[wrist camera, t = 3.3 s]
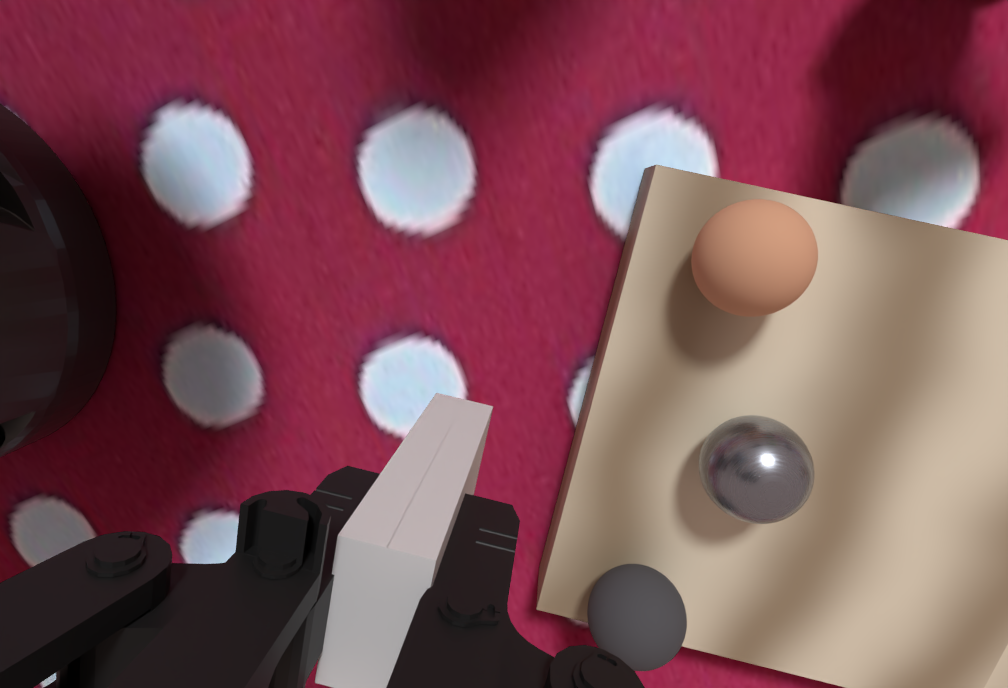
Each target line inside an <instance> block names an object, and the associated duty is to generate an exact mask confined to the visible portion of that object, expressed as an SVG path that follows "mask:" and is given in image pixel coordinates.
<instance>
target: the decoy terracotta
mask: <svg viewBox="0 0 1008 688" xmlns="http://www.w3.org/2000/svg"><path fill="white" fill-rule="evenodd" d="M817 262H818V247H817V242H816V238H815V235H814V233H813V231H812V229H811V227H810V226H809V224H808V222H807V221H806V220H805V219H804V218H803V217H802V216H801V215H800V214H799V213H798V212H796V211H795V210H793V209H792V208H790V207H789V206H787V205H784V204H782V203H779V202H776V201H772V200H765V199H752V200H745V201H741V202H737V203H734V204H732V205H729V206H727V207H725V208H723V209H722V210H720V211H719V212H717V213H716V214H715V215H714V216H713V217H711V218H710V219H709V220H708V221H707V223H706V224H705V225H704V226H703V228H702V229H701V230H700V232H699V234H698V236H697V238H696V240H695V243H694V246H693V250H692V258H691V263H692V272H693V276H694V279H695V282H696V284H697V286H698V288H699V290H700V291H701V293H702V294H703V295H704V296H705V297H706V299H707V300H708V301H709V302H711V303H712V304H713V305H714V306H716V307H718V308H719V309H721V310H723V311H726V312H728V313H731V314H734V315H738V316H746V317H756V316H764V315H769V314H772V313H775V312H777V311H779V310H782V309H784V308H786V307H787V306H789V305H790V304H792V303H793V302H794V301H796V300H797V299H798V298H799V297H800V296H801V295H802V294H803V293H804V292H805V290H806V289H807V288H808V286H809V284H810V283H811V281H812V279H813V277H814V274H815V271H816V268H817Z"/></svg>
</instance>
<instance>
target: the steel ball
mask: <svg viewBox="0 0 1008 688" xmlns="http://www.w3.org/2000/svg"><path fill="white" fill-rule="evenodd" d="M699 475H700V479H701V482H702V485H703V487H704V489H705V491H706V493H707V495H708V496H709V498H710V499H711V500H712V501H713V503H714V504H715V505H716V506H717V507H718V508H720V509H721V510H722V511H723V512H725V513H726V514H728V515H730V516H731V517H733V518H736V519H738V520H741V521H744V522H748V523H753V524H769V523H775V522H779V521H782V520H784V519H787V518H788V517H790V516H792V515H793V514H795V513H796V512H797V511H798V510H799V509H801V507H802V506H803V505H804V504H805V503H806V501H807V500H808V498H809V496H810V494H811V492H812V488H813V484H814V478H815V471H814V464H813V460H812V456H811V454H810V452H809V450H808V448H807V446H806V444H805V443H804V442H803V440H802V439H801V438H800V437H799V436H798V434H797V433H795V432H794V431H793V430H792V429H791V428H789V427H788V426H786V425H785V424H783V423H781V422H779V421H777V420H774V419H772V418H768V417H764V416H757V415H746V416H739V417H735V418H732V419H730V420H728V421H725V422H724V423H722V424H720V425H719V426H718V427H716V428H715V429H714V430H713V431H712V432H711V433H710V434H709V436H708V437H707V438H706V440H705V442H704V443H703V446H702V448H701V452H700V455H699Z"/></svg>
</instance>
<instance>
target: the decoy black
mask: <svg viewBox="0 0 1008 688" xmlns="http://www.w3.org/2000/svg"><path fill="white" fill-rule="evenodd" d="M587 617H588V624H589V628H590V631H591V634H592V636H593V639H594V641H595V642H596V644H597V646H598V647H599V648H600V649H604V650H605V651H607V652H609V653H611V654H613V655H615V656H617V657H619V658H620V659H621V660H623V661H624V662H625V663H626V664H627V665H628V666H629V667H630V668H631V669H632V670H635V671H649V670H653V669H656V668H659V667H661V666H663V665H665V664H666V663H668V662H669V661H670V660H672V659H673V657H674V656H675V655H676V654H677V653H678V651H679V650H680V648H681V646H682V644H683V641H684V639H685V635H686V629H687V615H686V610H685V606H684V603H683V600H682V598H681V596H680V594H679V592H678V590H677V589H676V587H675V586H674V585H673V583H672V582H671V581H670V580H669V579H668V578H667V577H666V576H664V575H663V574H662V573H660V572H659V571H657V570H655V569H653V568H651V567H649V566H645V565H641V564H624V565H620V566H617V567H614V568H612V569H610V570H609V571H607V572H606V573H605V574H603V575H602V576H601V577H600V578H599V580H598V581H597V582H596V584H595V585H594V587H593V589H592V591H591V594H590V597H589V601H588V609H587Z"/></svg>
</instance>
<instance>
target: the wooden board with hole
mask: <svg viewBox="0 0 1008 688" xmlns="http://www.w3.org/2000/svg"><path fill="white" fill-rule="evenodd" d="M752 199H765V200H772V201H776V202H779V203H782V204H784V205H787V206H789V207H790V208H792V209H793V210H795V211H796V212H798V213H799V214H800V215H801V216H802V217H803V218H804V219H805V220H806V221H807V222H808V224H809V226H810V227H811V229H812V231H813V233H814V235H815V238H816V242H817V247H818V262H817V268H816V271H815V274H814V277H813V279H812V281H811V283H810V284H809V286H808V288H807V289H806V290H805V292H804V293H803V294H802V295H801V296H800V297H799V298H798V299H797V300H796V301H794V302H793V303H792V304H790V305H789V306H787V307H786V308H784V309H782V310H779V311H777V312H775V313H772V314H769V315H764V316H756V317H746V316H738V315H734V314H731V313H728V312H726V311H723V310H721V309H719V308H718V307H716V306H714V305H713V304H712V303H711V302H709V301H708V300H707V299H706V297H705V296H704V295H703V294H702V293H701V291H700V290H699V288H698V286H697V284H696V282H695V279H694V276H693V272H692V263H691V258H692V250H693V246H694V243H695V240H696V238H697V236H698V234H699V232H700V230H701V229H702V228H703V226H704V225H705V224H706V223H707V221H708V220H709V219H710V218H711V217H713V216H714V215H715V214H716V213H717V212H719V211H720V210H722V209H723V208H725V207H727V206H729V205H732V204H734V203H737V202H741V201H745V200H752ZM746 415H757V416H764V417H768V418H772V419H774V420H777V421H779V422H781V423H783V424H785V425H786V426H788V427H789V428H791V429H792V430H793V431H794V432H795V433H797V434H798V436H799V437H800V438H801V439H802V440H803V442H804V443H805V444H806V446H807V448H808V450H809V452H810V454H811V456H812V460H813V464H814V471H815V478H814V484H813V488H812V492H811V494H810V496H809V498H808V500H807V501H806V503H805V504H804V505H803V506H802V507H801V509H799V510H798V511H797V512H796V513H795V514H793V515H792V516H790V517H788V518H787V519H784V520H782V521H779V522H775V523H769V524H753V523H748V522H744V521H741V520H738V519H736V518H733V517H731V516H730V515H728V514H726V513H725V512H723V511H722V510H721V509H720V508H718V507H717V506H716V505H715V504H714V503H713V501H712V500H711V499H710V498H709V496H708V495H707V493H706V491H705V489H704V487H703V485H702V482H701V479H700V475H699V455H700V452H701V448H702V446H703V443H704V442H705V440H706V438H707V437H708V436H709V434H710V433H711V432H712V431H713V430H714V429H715V428H716V427H718V426H719V425H720V424H722V423H724V422H725V421H728V420H730V419H732V418H735V417H739V416H746ZM624 564H641V565H645V566H649V567H651V568H653V569H655V570H657V571H659V572H660V573H662V574H663V575H664V576H666V577H667V578H668V579H669V580H670V581H671V582H672V583H673V585H674V586H675V587H676V589H677V590H678V592H679V594H680V596H681V598H682V600H683V603H684V606H685V610H686V615H687V629H686V635H685V639H684V641H683V644H682V646H683V647H687V648H691V649H695V650H699V651H703V652H707V653H711V654H715V655H718V656H722V657H726V658H730V659H734V660H738V661H742V662H746V663H750V664H754V665H758V666H762V667H766V668H770V669H774V670H778V671H782V672H786V673H790V674H794V675H798V676H802V677H806V678H810V679H814V680H818V681H822V682H826V683H829V684H833V685H837V686H841V687H845V688H1008V240H1003V239H999V238H994V237H990V236H985V235H980V234H976V233H971V232H966V231H962V230H957V229H952V228H948V227H943V226H939V225H934V224H929V223H925V222H920V221H915V220H911V219H906V218H901V217H897V216H892V215H887V214H883V213H878V212H874V211H869V210H864V209H860V208H855V207H850V206H846V205H841V204H836V203H832V202H827V201H822V200H818V199H813V198H809V197H804V196H799V195H795V194H790V193H785V192H781V191H776V190H771V189H767V188H762V187H758V186H753V185H748V184H744V183H739V182H734V181H730V180H725V179H720V178H716V177H711V176H706V175H702V174H697V173H693V172H688V171H683V170H679V169H674V168H669V167H665V166H660V165H654V166H651V167H648V168H645V170H644V174H643V178H642V181H641V185H640V189H639V193H638V196H637V200H636V204H635V208H634V212H633V215H632V219H631V223H630V227H629V230H628V234H627V238H626V242H625V246H624V249H623V253H622V257H621V261H620V264H619V268H618V272H617V276H616V280H615V283H614V287H613V291H612V295H611V298H610V302H609V306H608V310H607V313H606V317H605V321H604V325H603V329H602V332H601V336H600V340H599V344H598V347H597V351H596V355H595V359H594V363H593V366H592V370H591V374H590V378H589V381H588V385H587V389H586V393H585V397H584V400H583V404H582V408H581V412H580V415H579V419H578V423H577V427H576V431H575V434H574V438H573V442H572V446H571V449H570V453H569V457H568V461H567V465H566V468H565V472H564V476H563V480H562V483H561V487H560V491H559V495H558V499H557V502H556V506H555V510H554V514H553V517H552V521H551V525H550V529H549V533H548V536H547V540H546V544H545V548H544V551H543V555H542V559H541V563H540V566H539V578H538V593H537V608H536V610H540V611H544V612H548V613H552V614H556V615H560V616H564V617H568V618H572V619H576V620H580V621H584V622H588V617H587V609H588V601H589V597H590V594H591V591H592V589H593V587H594V585H595V584H596V582H597V581H598V580H599V578H600V577H601V576H602V575H603V574H605V573H606V572H607V571H609V570H610V569H612V568H614V567H617V566H620V565H624Z"/></svg>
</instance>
